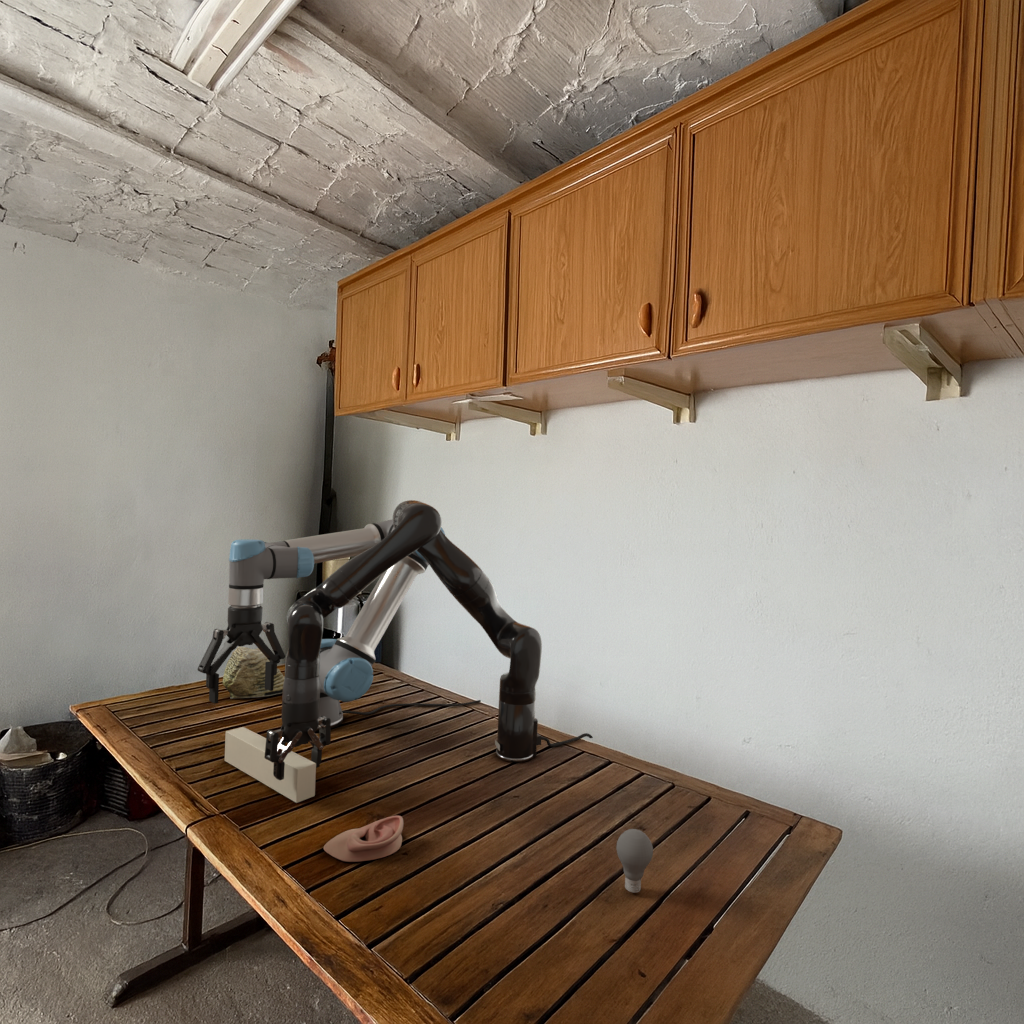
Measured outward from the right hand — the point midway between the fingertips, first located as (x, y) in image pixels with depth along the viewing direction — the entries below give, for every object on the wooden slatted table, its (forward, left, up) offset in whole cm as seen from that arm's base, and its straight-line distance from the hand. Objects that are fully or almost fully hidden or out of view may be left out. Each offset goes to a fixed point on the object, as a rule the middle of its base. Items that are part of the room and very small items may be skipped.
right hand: (297, 772), depth 134 cm
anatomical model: (-8, +25, -5) cm, 27 cm away
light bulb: (-45, +55, -5) cm, 72 cm away
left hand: (+10, -22, +11) cm, 26 cm away
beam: (+5, -11, -5) cm, 13 cm away
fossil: (+2, -73, -5) cm, 73 cm away
